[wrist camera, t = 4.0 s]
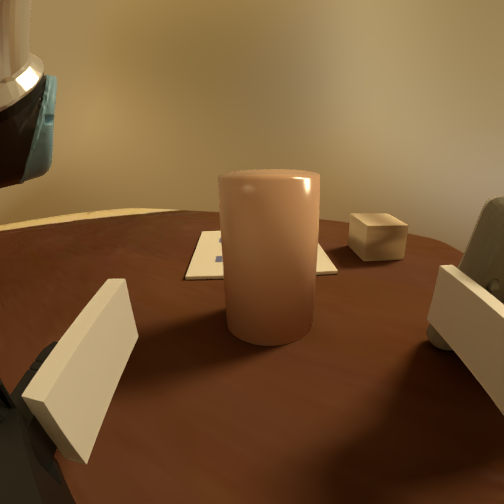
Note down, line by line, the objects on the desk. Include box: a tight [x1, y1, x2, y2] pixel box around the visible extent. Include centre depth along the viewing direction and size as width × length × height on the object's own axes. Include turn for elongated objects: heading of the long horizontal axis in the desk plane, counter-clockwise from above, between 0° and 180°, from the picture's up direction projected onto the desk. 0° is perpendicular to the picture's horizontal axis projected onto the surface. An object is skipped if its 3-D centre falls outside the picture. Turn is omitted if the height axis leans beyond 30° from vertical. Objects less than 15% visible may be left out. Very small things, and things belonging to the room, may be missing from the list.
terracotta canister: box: [218, 169, 320, 346], centre depth 20 cm, size 6×6×10 cm
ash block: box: [348, 214, 408, 262], centre depth 32 cm, size 5×5×4 cm
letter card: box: [185, 231, 338, 280], centre depth 34 cm, size 14×14×1 cm
